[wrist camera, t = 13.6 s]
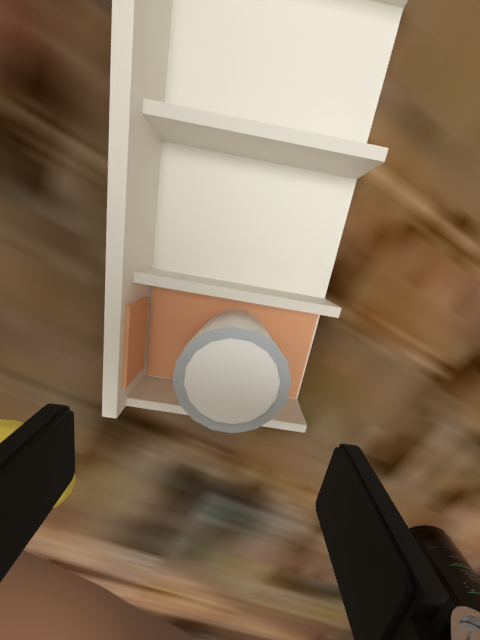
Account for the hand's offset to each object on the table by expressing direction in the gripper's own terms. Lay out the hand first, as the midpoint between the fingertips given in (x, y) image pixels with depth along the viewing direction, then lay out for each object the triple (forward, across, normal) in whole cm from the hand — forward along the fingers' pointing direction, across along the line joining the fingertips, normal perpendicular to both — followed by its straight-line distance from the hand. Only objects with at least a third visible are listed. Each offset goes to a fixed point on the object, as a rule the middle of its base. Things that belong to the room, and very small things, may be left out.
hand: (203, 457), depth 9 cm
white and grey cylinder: (+12, -1, 0) cm, 13 cm away
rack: (+14, 0, -9) cm, 16 cm away
